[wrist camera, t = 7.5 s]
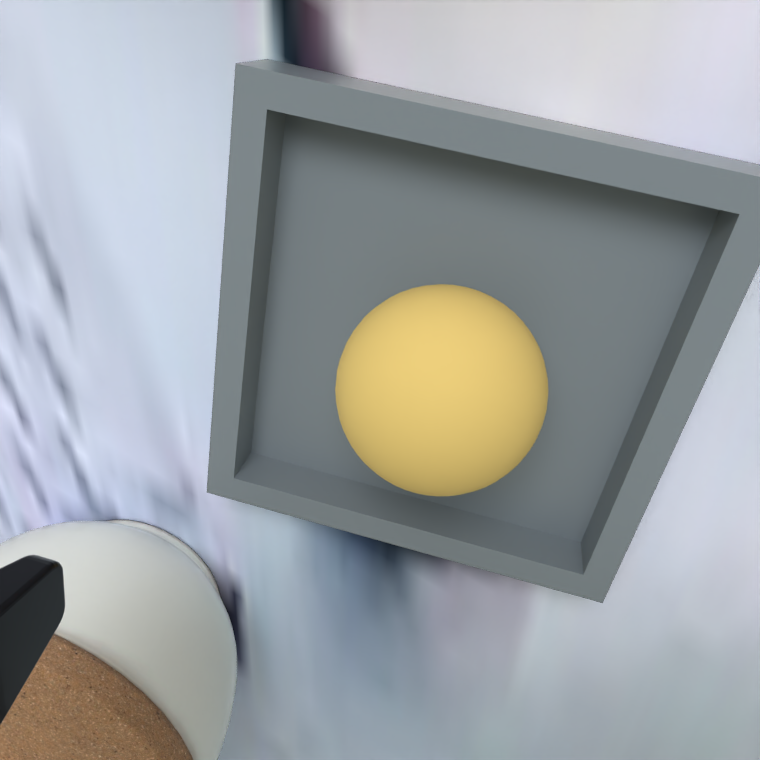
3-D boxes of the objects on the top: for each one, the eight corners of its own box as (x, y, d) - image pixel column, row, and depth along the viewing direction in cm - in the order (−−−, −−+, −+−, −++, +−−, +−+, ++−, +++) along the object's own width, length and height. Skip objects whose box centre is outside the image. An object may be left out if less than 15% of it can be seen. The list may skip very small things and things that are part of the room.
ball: (570, 281, 17) (585, 370, 13) (516, 444, 20) (514, 566, 15) (376, 237, 18) (327, 309, 13) (347, 402, 20) (297, 508, 16)
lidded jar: (128, 704, 30) (-26, 958, 22) (-38, 516, 27) (-291, 732, 19) (332, 653, 26) (237, 941, 18) (168, 424, 23) (-42, 649, 15)
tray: (768, 166, 16) (796, 184, 14) (597, 556, 22) (602, 602, 20) (267, 59, 17) (235, 63, 15) (232, 456, 23) (206, 492, 21)
